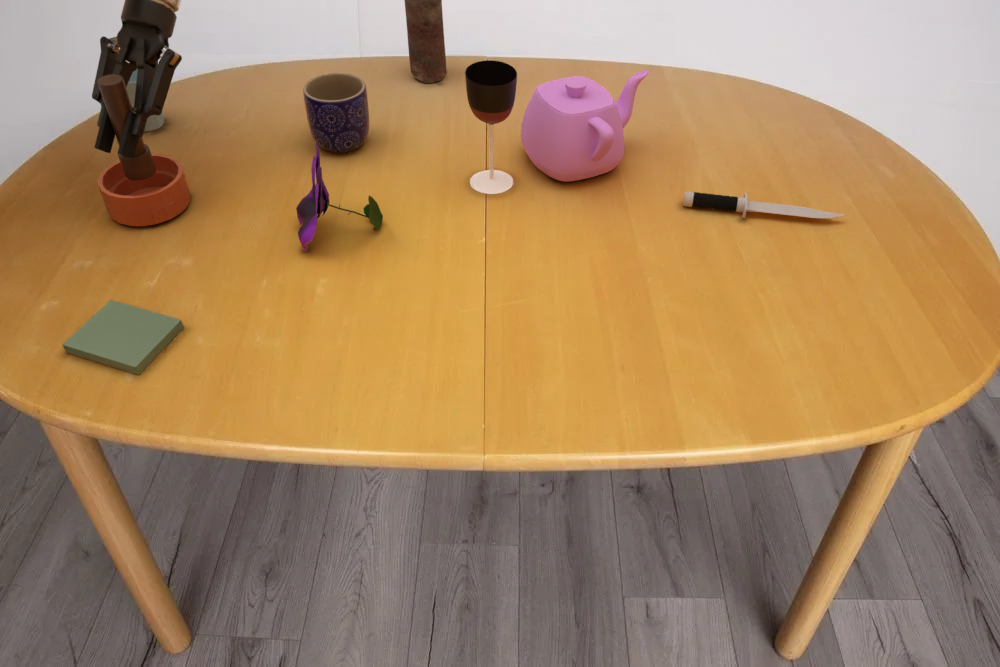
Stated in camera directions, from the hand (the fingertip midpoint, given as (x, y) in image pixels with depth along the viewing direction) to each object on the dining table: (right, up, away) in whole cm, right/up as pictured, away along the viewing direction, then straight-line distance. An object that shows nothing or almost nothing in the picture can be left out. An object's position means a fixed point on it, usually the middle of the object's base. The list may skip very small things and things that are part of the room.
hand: (114, 152), depth 134 cm
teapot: (+72, +3, +22) cm, 75 cm away
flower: (+34, -12, +6) cm, 36 cm away
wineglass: (+58, -2, +17) cm, 60 cm away
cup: (-7, +12, +31) cm, 33 cm away
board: (+7, -28, -13) cm, 32 cm away
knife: (+102, -8, +10) cm, 103 cm away
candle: (+44, +25, +45) cm, 68 cm away
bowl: (+1, -6, +11) cm, 13 cm away
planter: (+30, +7, +26) cm, 40 cm away
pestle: (+1, -2, +7) cm, 7 cm away
